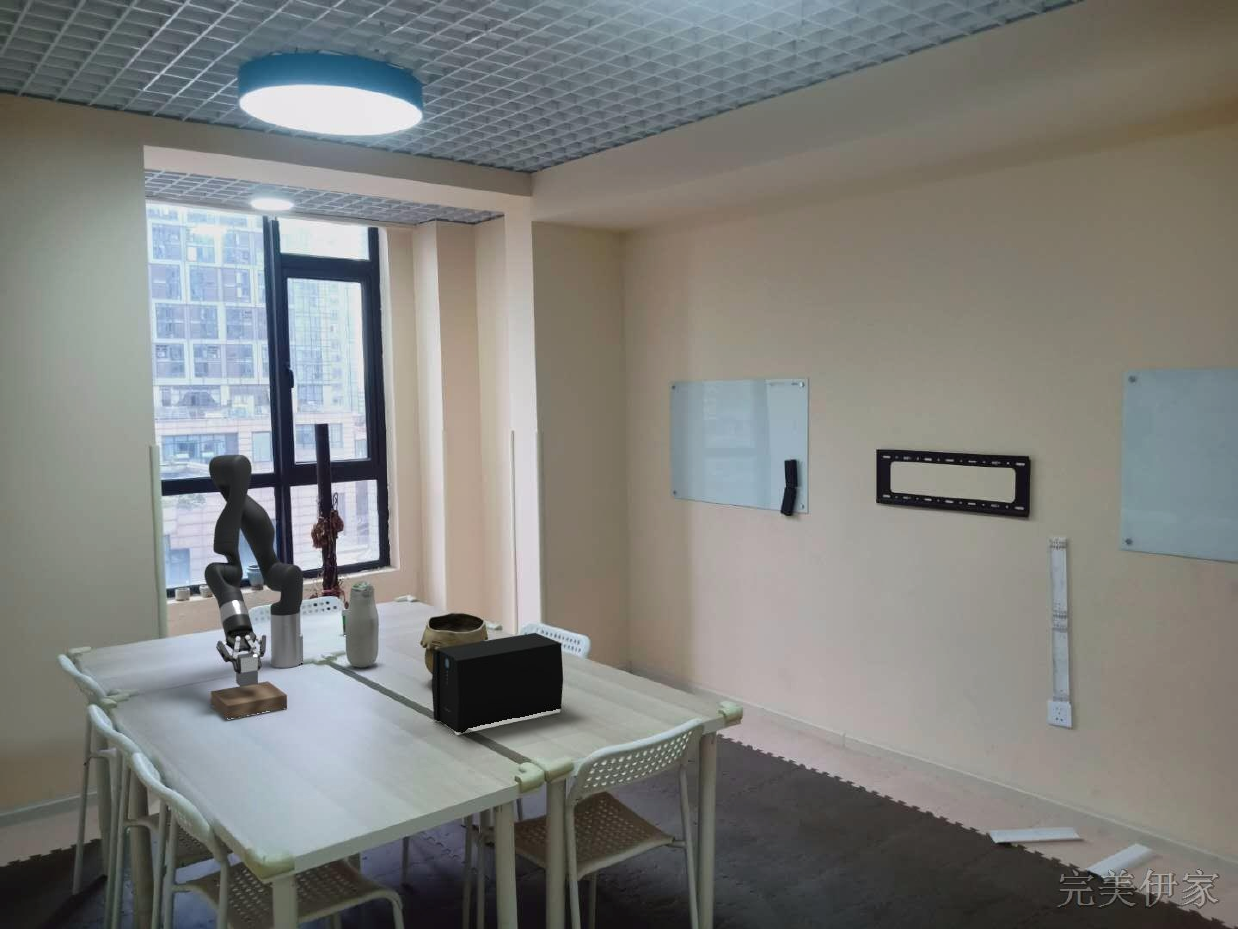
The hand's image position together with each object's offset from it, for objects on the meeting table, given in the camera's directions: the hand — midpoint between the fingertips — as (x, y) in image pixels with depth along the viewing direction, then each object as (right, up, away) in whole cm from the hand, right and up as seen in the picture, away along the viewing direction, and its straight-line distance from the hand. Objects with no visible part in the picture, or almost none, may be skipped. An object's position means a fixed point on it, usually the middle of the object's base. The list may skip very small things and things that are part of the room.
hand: (249, 670), depth 267 cm
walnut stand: (-1, -11, +2) cm, 11 cm away
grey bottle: (+20, -8, +43) cm, 48 cm away
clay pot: (+53, -10, +27) cm, 61 cm away
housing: (-1, -4, +2) cm, 5 cm away
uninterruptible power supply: (+71, -12, -3) cm, 72 cm away
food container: (+7, -5, +86) cm, 86 cm away
